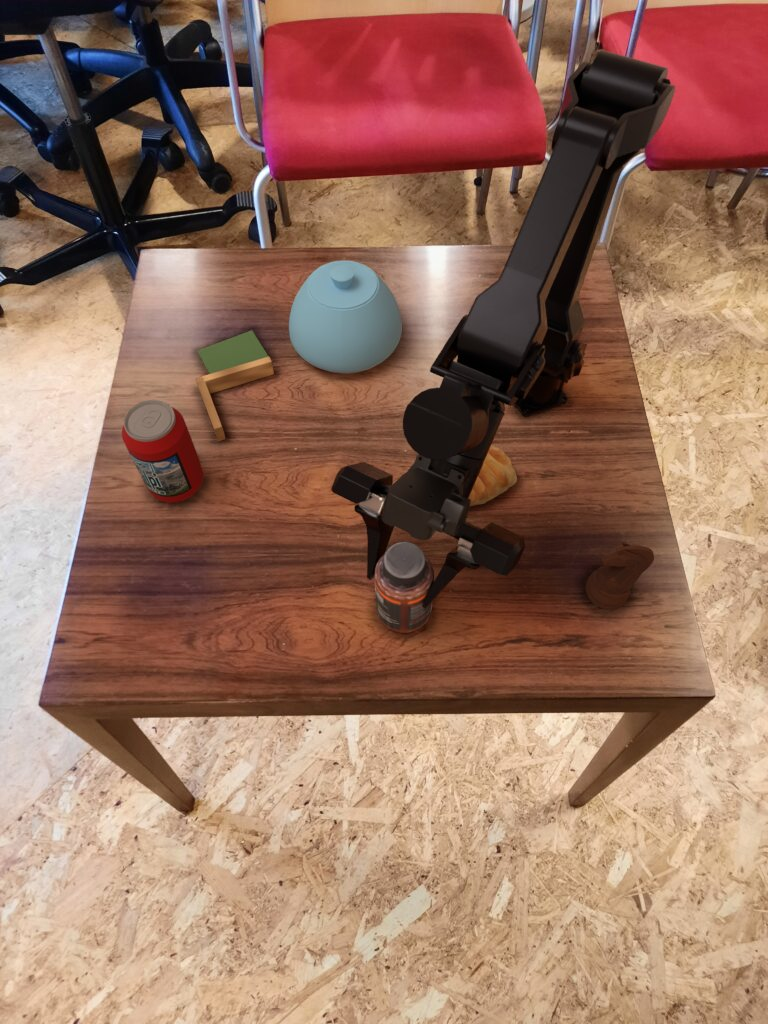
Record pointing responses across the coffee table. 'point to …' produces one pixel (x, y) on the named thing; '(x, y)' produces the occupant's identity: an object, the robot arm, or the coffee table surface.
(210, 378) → the corner guard
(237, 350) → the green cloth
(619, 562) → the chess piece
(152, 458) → the beverage can
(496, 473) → the pastry
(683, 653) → the coffee table surface
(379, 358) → the sugar bowl
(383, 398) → the coffee table surface
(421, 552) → the supplement bottle
